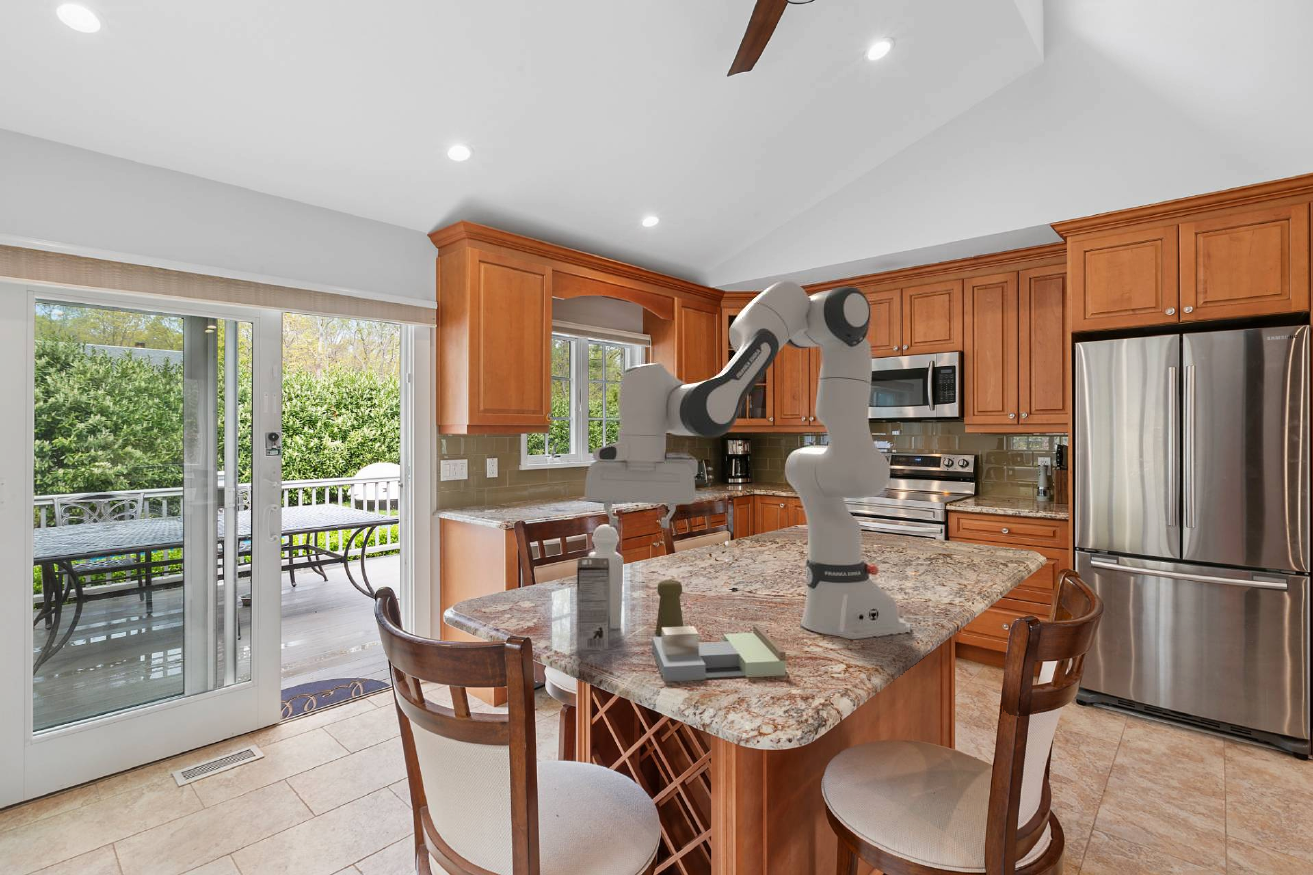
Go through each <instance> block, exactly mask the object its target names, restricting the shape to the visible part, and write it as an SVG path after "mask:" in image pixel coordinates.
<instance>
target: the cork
mask: <svg viewBox="0 0 1313 875" xmlns="http://www.w3.org/2000/svg"><path fill="white" fill-rule="evenodd" d="M682 593H683V585H682V583H681V582H680V581H679V580H675V579H663V580H661V581H660V582H659V583H658V584H657V594H658V596H659V603H658V604H659V605H658V612H657V618H656V627H655V635H656V637H659V636H660V637H662V627H684V621H683V613H682V605H681V604H682V603H681V595H682Z"/></svg>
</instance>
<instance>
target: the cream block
mask: <svg viewBox="0 0 1313 875" xmlns="http://www.w3.org/2000/svg"><path fill="white" fill-rule="evenodd" d="M699 634H700V633H699V632H698V630H697V629H696V627H695V626H693V625H692V626H691V625H688V626H683V627H662V649H663V651H664V653H665V655H672V654H694V653H699V643H700V640H699V639H700V638H699V637H700V635H699Z"/></svg>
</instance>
